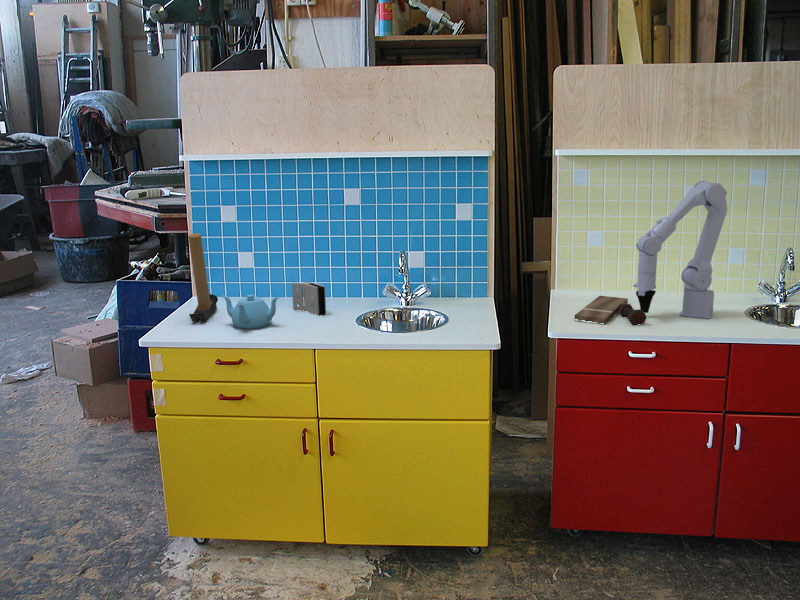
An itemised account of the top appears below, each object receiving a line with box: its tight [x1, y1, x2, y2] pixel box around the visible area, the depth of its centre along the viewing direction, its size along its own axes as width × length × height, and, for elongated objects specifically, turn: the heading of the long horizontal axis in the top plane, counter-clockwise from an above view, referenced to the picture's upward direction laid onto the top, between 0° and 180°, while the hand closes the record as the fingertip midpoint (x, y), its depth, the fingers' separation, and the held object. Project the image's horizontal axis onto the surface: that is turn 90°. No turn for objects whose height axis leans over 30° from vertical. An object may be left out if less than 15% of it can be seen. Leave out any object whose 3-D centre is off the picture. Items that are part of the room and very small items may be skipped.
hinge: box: [291, 281, 327, 316], centre depth 264 cm, size 14×5×10 cm, turn 51°
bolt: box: [617, 303, 647, 326], centre depth 248 cm, size 6×5×15 cm
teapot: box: [221, 294, 281, 330], centre depth 248 cm, size 15×15×10 cm
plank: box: [574, 295, 629, 325], centre depth 257 cm, size 10×30×2 cm, turn 150°
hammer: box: [187, 233, 219, 322], centre depth 256 cm, size 20×5×30 cm, turn 0°
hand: (644, 312), depth 250 cm, fingers closed
